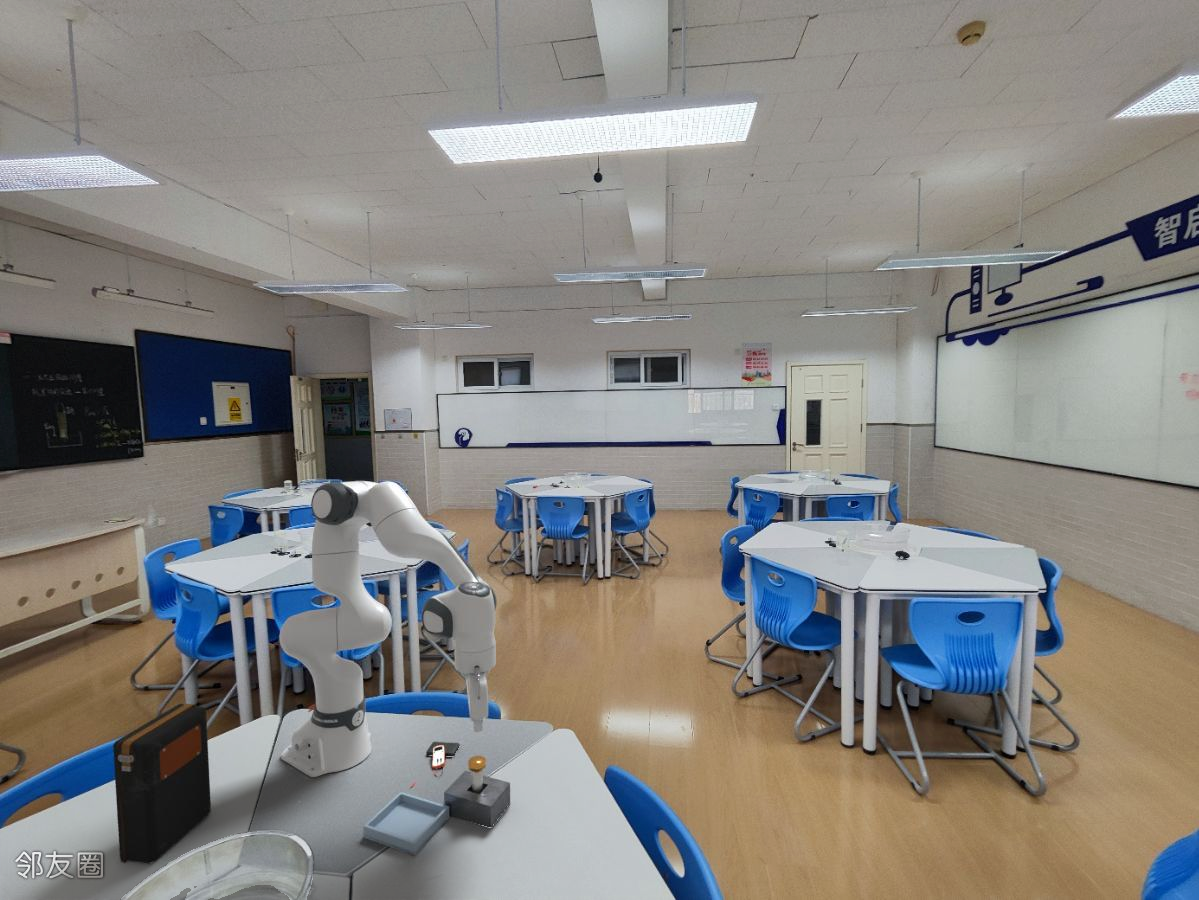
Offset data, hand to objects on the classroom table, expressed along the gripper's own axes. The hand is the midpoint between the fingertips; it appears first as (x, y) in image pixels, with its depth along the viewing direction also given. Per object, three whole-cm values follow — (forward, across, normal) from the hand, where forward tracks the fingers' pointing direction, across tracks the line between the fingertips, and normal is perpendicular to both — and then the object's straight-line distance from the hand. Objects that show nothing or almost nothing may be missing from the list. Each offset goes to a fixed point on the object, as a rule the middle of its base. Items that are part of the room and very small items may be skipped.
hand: (476, 718), depth 121 cm
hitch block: (+21, 0, 0) cm, 21 cm away
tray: (+21, -1, +15) cm, 26 cm away
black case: (+21, +10, +63) cm, 67 cm away
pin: (+21, 0, 0) cm, 21 cm away
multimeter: (+22, +18, +8) cm, 29 cm away
